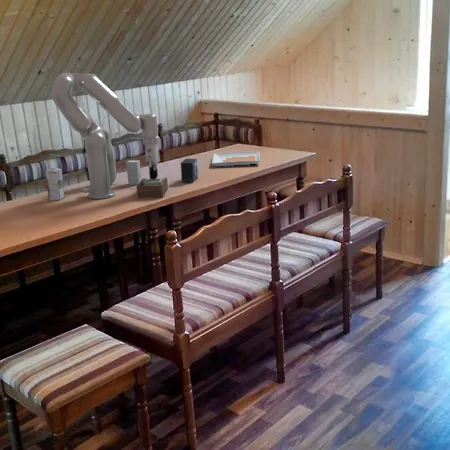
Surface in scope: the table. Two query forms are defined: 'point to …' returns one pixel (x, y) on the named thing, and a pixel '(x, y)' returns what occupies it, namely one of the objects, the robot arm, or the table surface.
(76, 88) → the robot arm
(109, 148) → the glass bottle
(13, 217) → the table surface
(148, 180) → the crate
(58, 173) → the syrup box
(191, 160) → the small box
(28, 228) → the table surface
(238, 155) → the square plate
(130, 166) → the skincare box
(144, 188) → the bay
